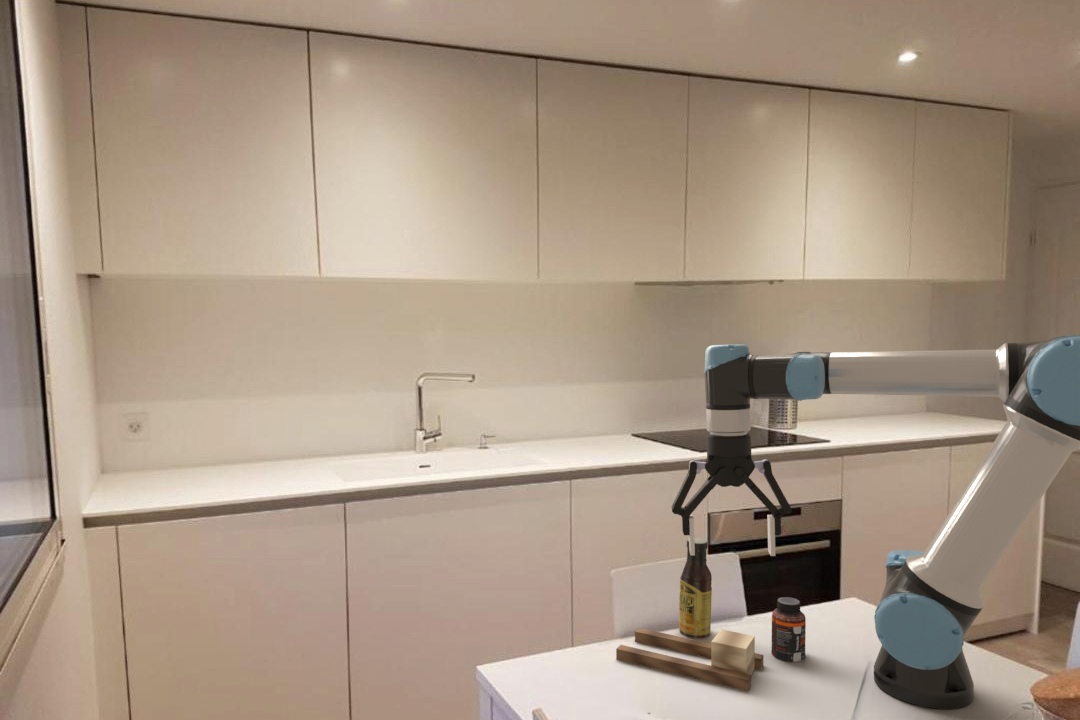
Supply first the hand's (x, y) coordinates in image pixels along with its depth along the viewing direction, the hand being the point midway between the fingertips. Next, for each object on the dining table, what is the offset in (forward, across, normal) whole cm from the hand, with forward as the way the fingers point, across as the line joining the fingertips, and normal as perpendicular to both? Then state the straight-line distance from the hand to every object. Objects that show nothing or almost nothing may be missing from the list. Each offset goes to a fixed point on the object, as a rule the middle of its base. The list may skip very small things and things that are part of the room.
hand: (731, 553), depth 127 cm
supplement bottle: (+23, -11, -9) cm, 27 cm away
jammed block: (+21, 0, 0) cm, 21 cm away
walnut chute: (+22, +8, -3) cm, 23 cm away
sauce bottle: (+22, +6, -17) cm, 28 cm away
